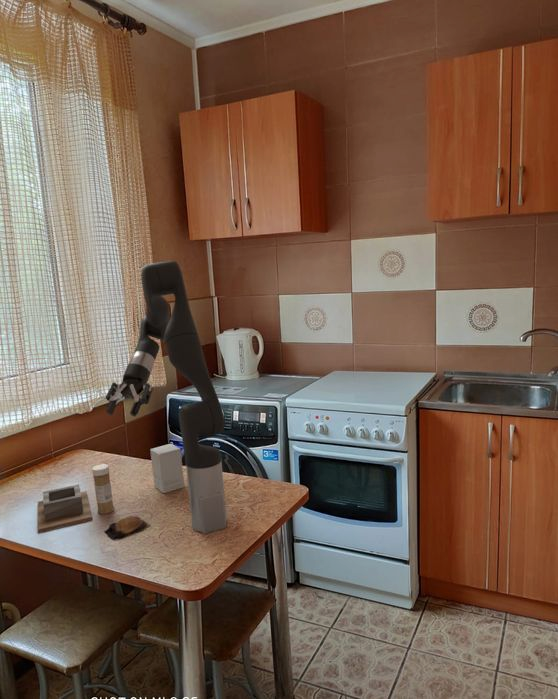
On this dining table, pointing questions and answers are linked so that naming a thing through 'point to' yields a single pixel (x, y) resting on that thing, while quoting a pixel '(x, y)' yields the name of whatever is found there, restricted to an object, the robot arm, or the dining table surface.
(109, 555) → the dining table surface
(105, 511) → the sprinkles bottle
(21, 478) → the dining table surface
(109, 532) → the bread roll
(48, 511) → the collar board
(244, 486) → the dining table surface
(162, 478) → the supplement box
